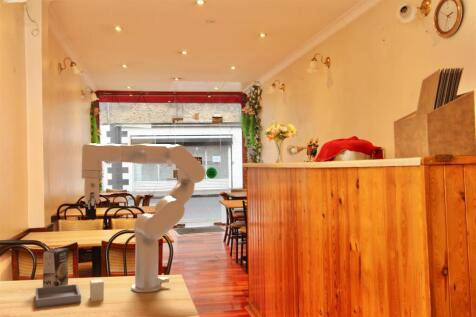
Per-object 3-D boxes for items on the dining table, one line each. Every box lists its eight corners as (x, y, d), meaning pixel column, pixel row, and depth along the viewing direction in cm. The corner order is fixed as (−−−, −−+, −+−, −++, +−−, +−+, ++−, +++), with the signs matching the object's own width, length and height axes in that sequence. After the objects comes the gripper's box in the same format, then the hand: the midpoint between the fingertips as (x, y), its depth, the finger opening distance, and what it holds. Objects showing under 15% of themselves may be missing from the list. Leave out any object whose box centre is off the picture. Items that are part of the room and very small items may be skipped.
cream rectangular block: (101, 296, 178) (102, 278, 178) (103, 299, 174) (103, 281, 174) (90, 297, 176) (90, 280, 176) (91, 301, 172) (91, 283, 172)
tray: (77, 291, 184) (77, 284, 184) (80, 302, 170) (80, 294, 170) (35, 295, 177) (35, 288, 177) (35, 308, 163) (35, 299, 163)
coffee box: (56, 291, 183) (56, 252, 183) (42, 290, 184) (42, 251, 184) (68, 285, 192) (69, 248, 192) (55, 284, 193) (55, 247, 193)
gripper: (103, 175, 171) (102, 220, 171) (99, 174, 186) (98, 214, 186) (83, 175, 168) (82, 221, 168) (80, 173, 183) (78, 215, 183)
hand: (90, 217), depth 177 cm, fingers open, 9 cm apart
